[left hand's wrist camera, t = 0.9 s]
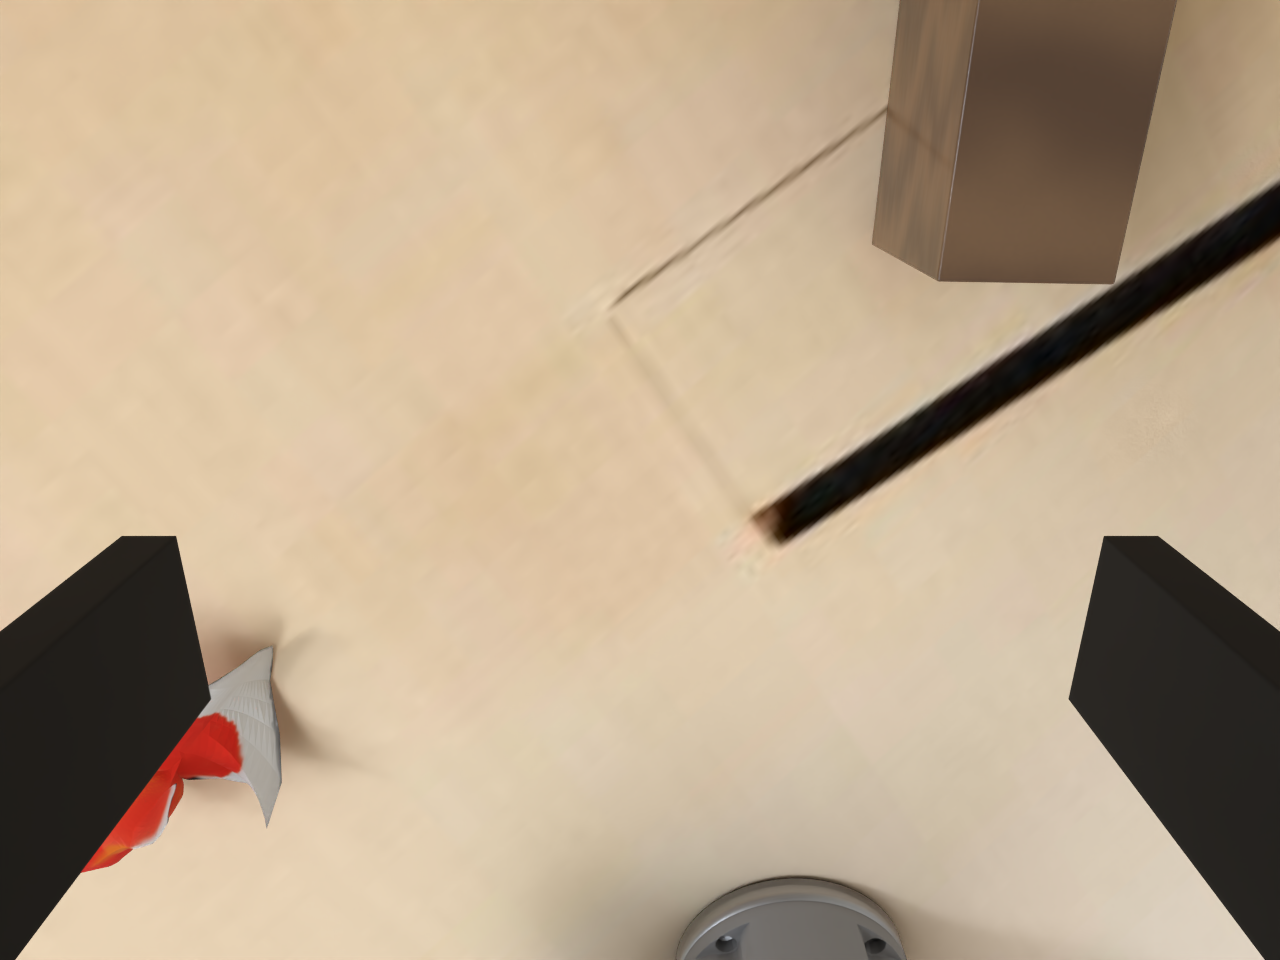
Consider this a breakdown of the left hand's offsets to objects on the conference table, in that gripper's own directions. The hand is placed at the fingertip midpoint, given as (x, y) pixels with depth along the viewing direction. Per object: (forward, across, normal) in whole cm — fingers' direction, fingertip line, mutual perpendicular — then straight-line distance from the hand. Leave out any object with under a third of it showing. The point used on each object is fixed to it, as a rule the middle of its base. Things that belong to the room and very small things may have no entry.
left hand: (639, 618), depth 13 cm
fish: (+32, +26, +25) cm, 48 cm away
